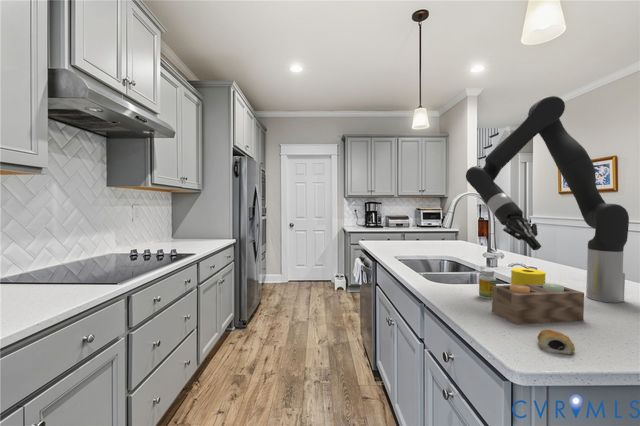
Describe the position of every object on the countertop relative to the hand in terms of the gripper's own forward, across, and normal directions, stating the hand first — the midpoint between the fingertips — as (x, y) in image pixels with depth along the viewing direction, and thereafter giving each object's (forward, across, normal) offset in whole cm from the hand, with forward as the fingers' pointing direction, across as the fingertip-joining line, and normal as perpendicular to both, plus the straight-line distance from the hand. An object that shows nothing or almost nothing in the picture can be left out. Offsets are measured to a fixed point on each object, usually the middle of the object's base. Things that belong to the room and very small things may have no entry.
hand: (537, 248), depth 98 cm
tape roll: (+6, +9, +21) cm, 24 cm away
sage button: (+13, -1, +6) cm, 14 cm away
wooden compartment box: (+17, -6, +10) cm, 21 cm away
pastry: (+28, -21, 0) cm, 35 cm away
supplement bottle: (+3, -4, +24) cm, 25 cm away
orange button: (+12, -11, +7) cm, 18 cm away
